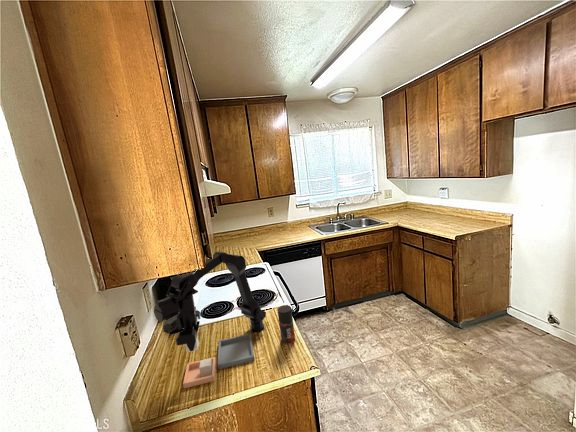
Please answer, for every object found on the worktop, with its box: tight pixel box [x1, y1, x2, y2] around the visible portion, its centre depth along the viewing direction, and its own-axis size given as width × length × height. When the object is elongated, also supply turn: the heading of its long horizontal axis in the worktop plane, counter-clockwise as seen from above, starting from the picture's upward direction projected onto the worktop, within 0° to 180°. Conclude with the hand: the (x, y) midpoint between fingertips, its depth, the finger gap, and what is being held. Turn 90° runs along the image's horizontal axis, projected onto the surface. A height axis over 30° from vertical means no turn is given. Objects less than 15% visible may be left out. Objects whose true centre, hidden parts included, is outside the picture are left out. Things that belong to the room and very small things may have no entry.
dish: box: [182, 356, 217, 389], centre depth 103 cm, size 11×11×2 cm
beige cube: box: [184, 334, 200, 353], centre depth 101 cm, size 4×4×4 cm
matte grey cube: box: [199, 357, 213, 377], centre depth 103 cm, size 4×4×4 cm
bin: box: [217, 332, 255, 370], centre depth 113 cm, size 16×14×2 cm
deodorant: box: [277, 304, 296, 345], centre depth 116 cm, size 6×6×15 cm
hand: (192, 347), depth 101 cm, fingers closed on beige cube, 4 cm apart
